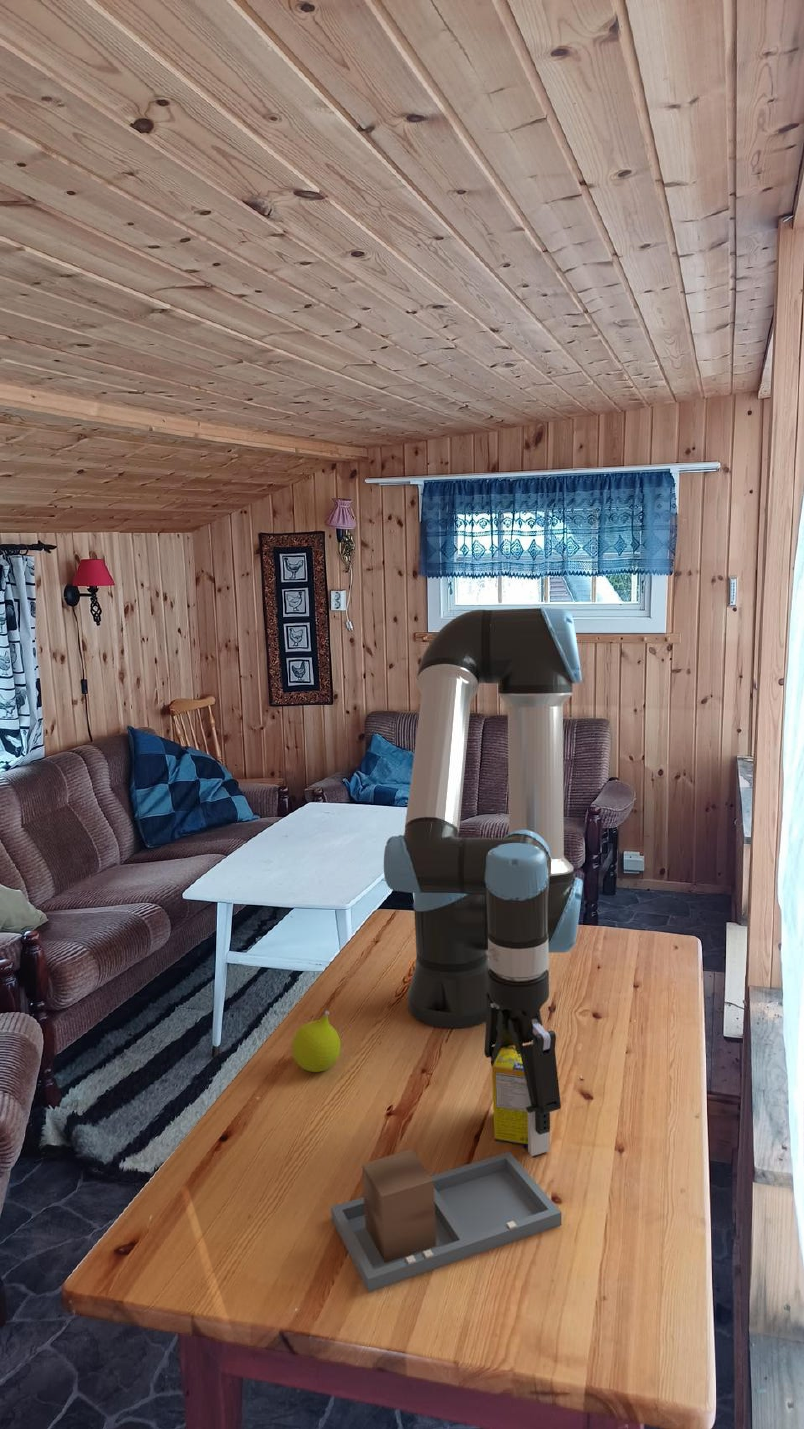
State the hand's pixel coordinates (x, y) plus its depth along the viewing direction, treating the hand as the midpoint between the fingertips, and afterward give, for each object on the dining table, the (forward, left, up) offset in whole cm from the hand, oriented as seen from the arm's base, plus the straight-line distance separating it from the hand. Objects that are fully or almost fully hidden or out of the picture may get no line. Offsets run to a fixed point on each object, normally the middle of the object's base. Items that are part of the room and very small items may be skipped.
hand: (521, 1132), depth 127 cm
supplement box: (0, 0, -1) cm, 1 cm away
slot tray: (+11, -16, 0) cm, 19 cm away
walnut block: (+11, -21, 0) cm, 24 cm away
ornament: (-27, -19, -1) cm, 33 cm away
